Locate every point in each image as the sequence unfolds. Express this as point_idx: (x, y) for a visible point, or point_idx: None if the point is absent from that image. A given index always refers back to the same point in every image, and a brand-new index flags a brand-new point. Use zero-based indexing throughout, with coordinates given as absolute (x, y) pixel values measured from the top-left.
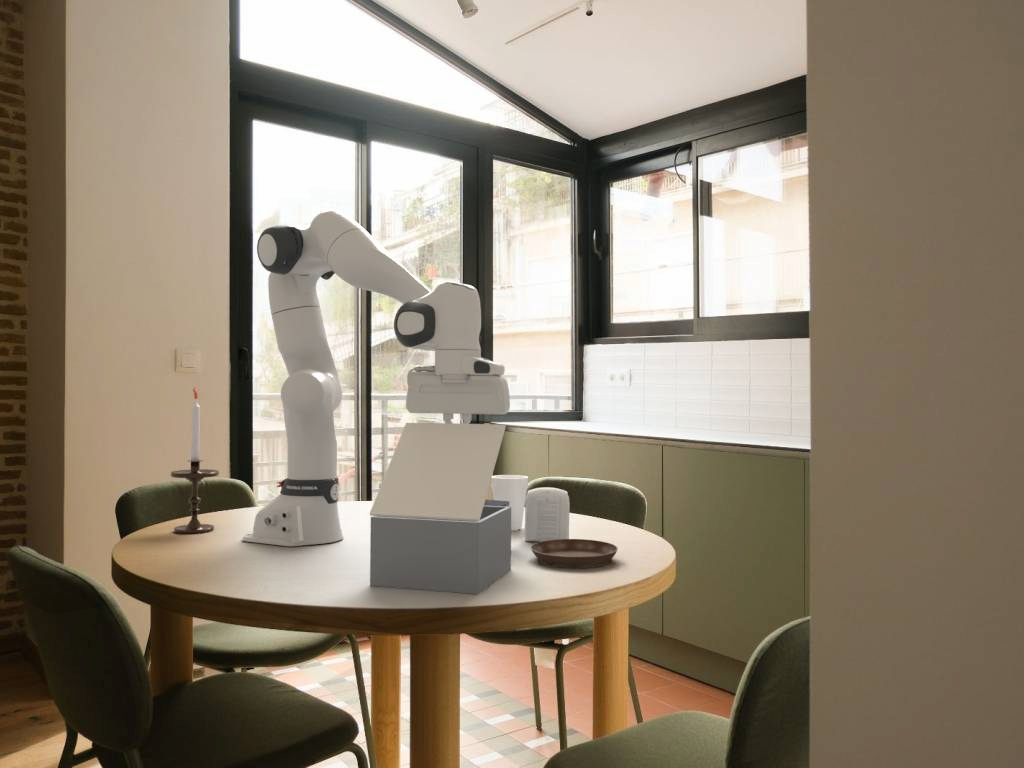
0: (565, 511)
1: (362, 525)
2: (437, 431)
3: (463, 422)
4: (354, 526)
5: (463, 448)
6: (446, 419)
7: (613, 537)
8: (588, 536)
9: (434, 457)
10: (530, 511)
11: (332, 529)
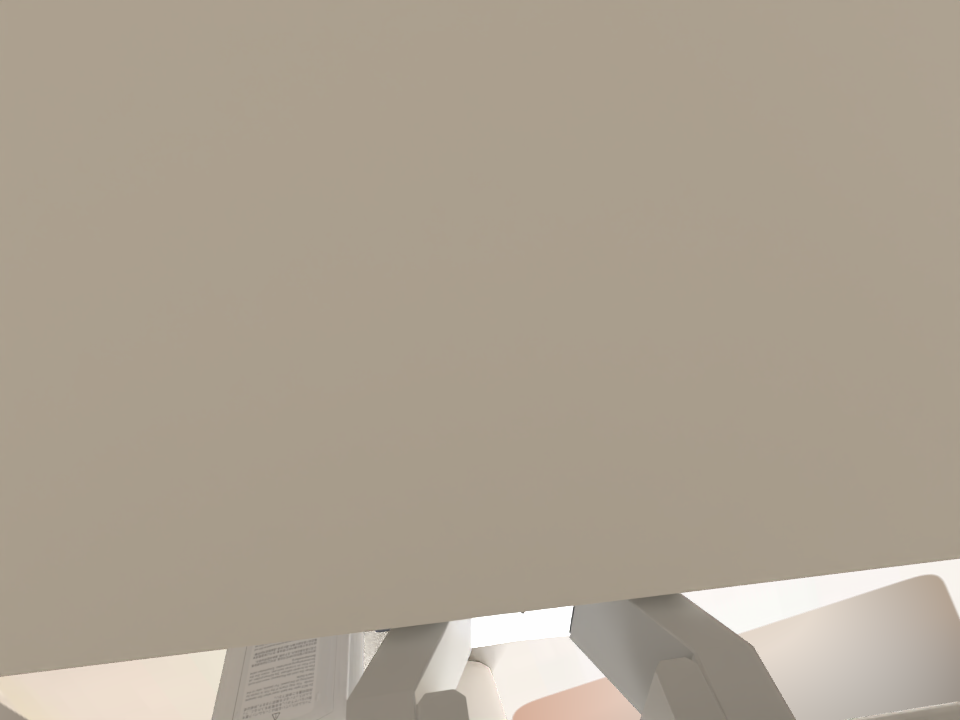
0: (222, 691)
1: (833, 588)
2: (730, 423)
3: (424, 654)
4: (851, 573)
5: (273, 171)
6: (701, 652)
7: (146, 694)
8: (218, 681)
9: (589, 29)
10: (336, 660)
11: None
